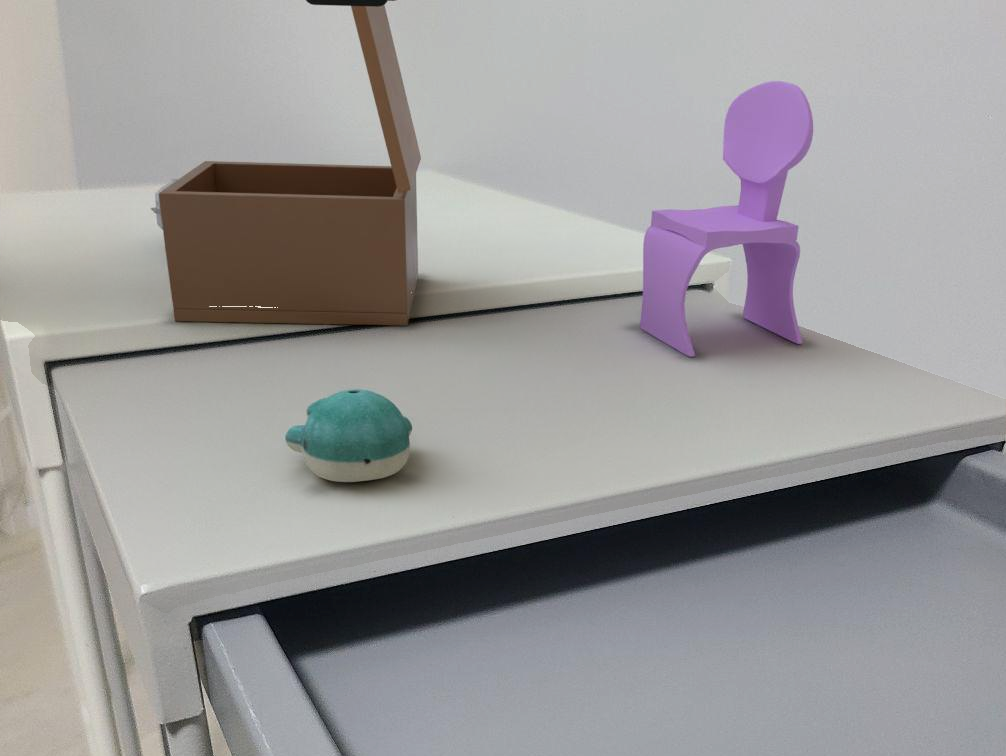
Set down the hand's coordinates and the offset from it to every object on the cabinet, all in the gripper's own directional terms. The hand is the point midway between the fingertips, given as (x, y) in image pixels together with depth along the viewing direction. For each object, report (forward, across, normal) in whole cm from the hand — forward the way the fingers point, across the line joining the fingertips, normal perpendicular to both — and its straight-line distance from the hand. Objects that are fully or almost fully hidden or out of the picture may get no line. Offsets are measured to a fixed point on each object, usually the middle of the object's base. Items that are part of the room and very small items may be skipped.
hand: (358, 2), depth 45 cm
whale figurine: (+19, +5, -1) cm, 20 cm away
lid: (+3, -22, -1) cm, 22 cm away
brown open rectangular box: (+19, -22, -6) cm, 30 cm away
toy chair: (+19, -15, +20) cm, 32 cm away
